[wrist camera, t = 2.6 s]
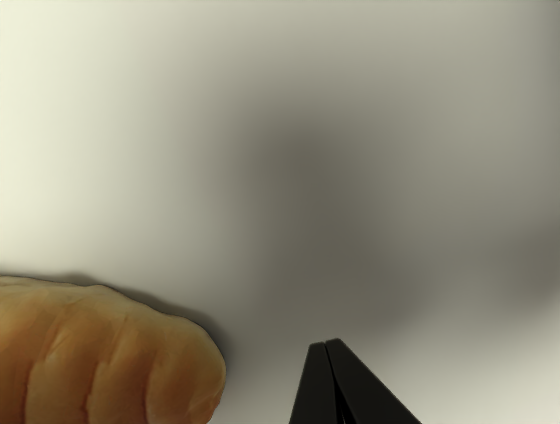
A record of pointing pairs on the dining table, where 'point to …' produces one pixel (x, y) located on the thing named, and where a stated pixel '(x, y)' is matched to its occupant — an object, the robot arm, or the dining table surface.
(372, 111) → the dining table surface
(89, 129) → the dining table surface
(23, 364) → the pastry
